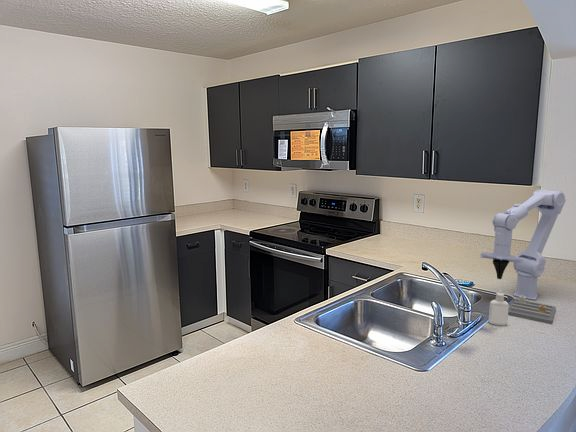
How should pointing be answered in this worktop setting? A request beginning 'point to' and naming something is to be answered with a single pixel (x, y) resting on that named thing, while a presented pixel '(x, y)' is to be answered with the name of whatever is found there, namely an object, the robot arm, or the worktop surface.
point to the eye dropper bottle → (498, 310)
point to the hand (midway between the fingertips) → (499, 278)
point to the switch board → (531, 311)
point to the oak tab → (542, 309)
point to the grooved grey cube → (522, 299)
